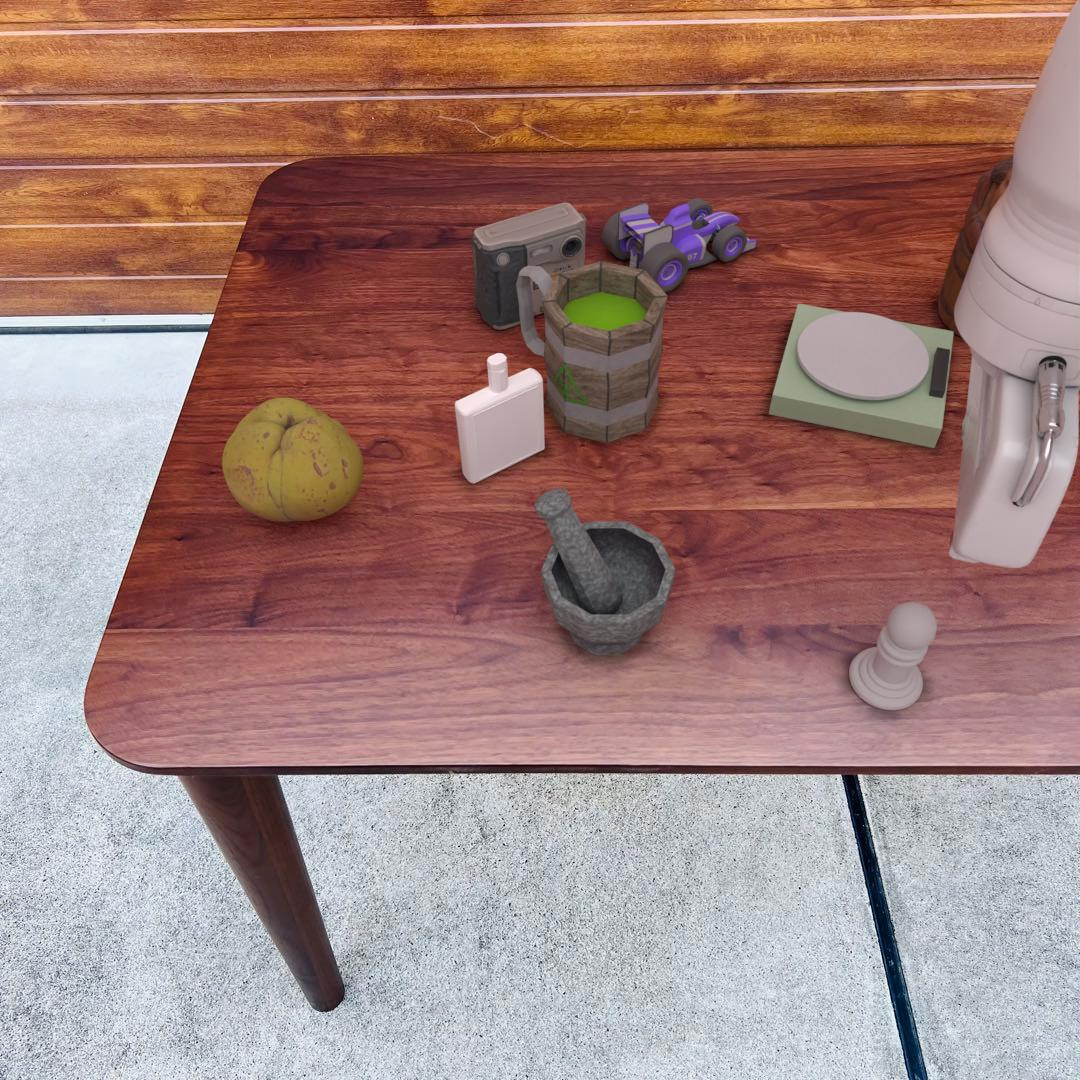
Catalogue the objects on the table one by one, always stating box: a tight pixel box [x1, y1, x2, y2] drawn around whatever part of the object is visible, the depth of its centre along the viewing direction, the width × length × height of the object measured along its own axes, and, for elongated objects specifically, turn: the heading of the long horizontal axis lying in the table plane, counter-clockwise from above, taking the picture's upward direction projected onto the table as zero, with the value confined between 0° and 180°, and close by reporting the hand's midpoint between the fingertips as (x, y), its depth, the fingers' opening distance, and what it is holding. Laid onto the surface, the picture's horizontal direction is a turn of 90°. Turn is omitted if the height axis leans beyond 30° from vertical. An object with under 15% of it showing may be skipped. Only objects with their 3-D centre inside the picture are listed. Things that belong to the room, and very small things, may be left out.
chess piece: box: [848, 601, 938, 711], centre depth 72 cm, size 5×5×9 cm
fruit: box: [221, 397, 365, 523], centre depth 84 cm, size 11×12×10 cm
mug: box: [516, 260, 669, 444], centre depth 92 cm, size 16×11×12 cm
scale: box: [768, 303, 955, 449], centre depth 95 cm, size 15×14×4 cm
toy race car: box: [601, 197, 758, 295], centre depth 107 cm, size 10×15×6 cm, turn 120°
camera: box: [470, 202, 588, 331], centre depth 101 cm, size 11×6×10 cm, turn 114°
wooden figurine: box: [937, 155, 1013, 338], centre depth 94 cm, size 12×6×18 cm, turn 54°
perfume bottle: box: [454, 352, 546, 485], centre depth 86 cm, size 8×2×12 cm, turn 123°
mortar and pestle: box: [533, 488, 676, 656], centre depth 75 cm, size 11×9×12 cm
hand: (969, 492), depth 59 cm, fingers open, 8 cm apart
